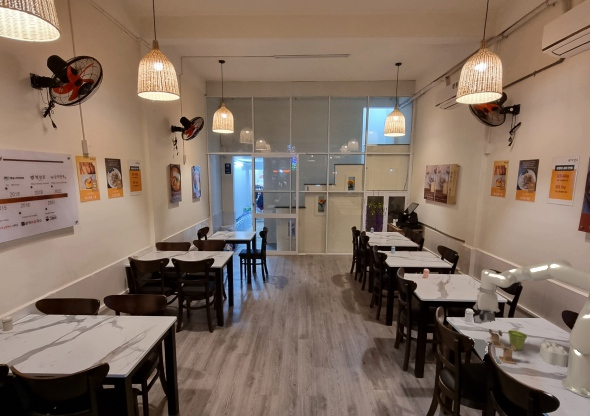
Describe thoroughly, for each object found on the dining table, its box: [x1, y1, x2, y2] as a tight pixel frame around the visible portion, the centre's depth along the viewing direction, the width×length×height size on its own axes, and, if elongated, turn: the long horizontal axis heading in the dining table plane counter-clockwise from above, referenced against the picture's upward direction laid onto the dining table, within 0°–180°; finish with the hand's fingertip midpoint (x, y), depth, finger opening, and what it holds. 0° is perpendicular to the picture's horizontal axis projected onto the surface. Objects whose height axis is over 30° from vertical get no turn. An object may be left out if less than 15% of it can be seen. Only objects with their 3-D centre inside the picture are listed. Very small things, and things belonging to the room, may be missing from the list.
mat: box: [473, 337, 502, 364], centre depth 168 cm, size 24×9×1 cm, turn 166°
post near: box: [498, 342, 517, 366], centre depth 158 cm, size 5×6×9 cm
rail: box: [473, 312, 496, 325], centre depth 169 cm, size 22×4×4 cm
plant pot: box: [507, 329, 528, 351], centre depth 171 cm, size 9×9×9 cm
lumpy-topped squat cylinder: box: [539, 341, 568, 368], centre depth 160 cm, size 10×13×9 cm
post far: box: [486, 328, 503, 349], centre depth 173 cm, size 5×6×9 cm
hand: (485, 320), depth 166 cm, fingers closed on rail, 3 cm apart
